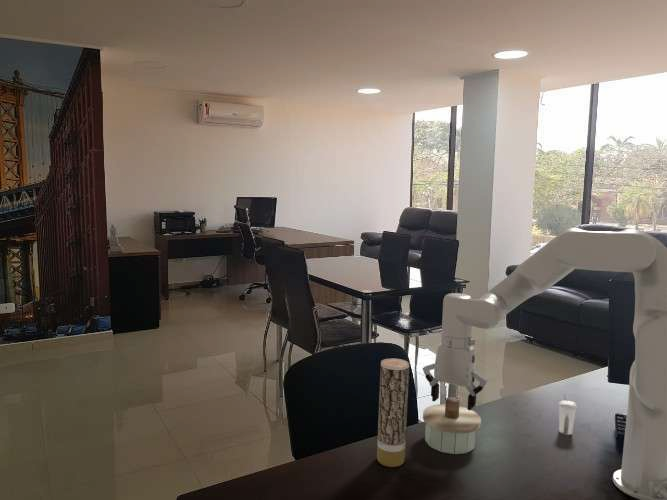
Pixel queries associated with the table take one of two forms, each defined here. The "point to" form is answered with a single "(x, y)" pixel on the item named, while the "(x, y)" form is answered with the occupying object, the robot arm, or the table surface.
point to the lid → (451, 417)
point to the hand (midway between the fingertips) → (452, 404)
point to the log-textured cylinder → (392, 412)
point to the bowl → (449, 440)
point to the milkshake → (566, 416)
